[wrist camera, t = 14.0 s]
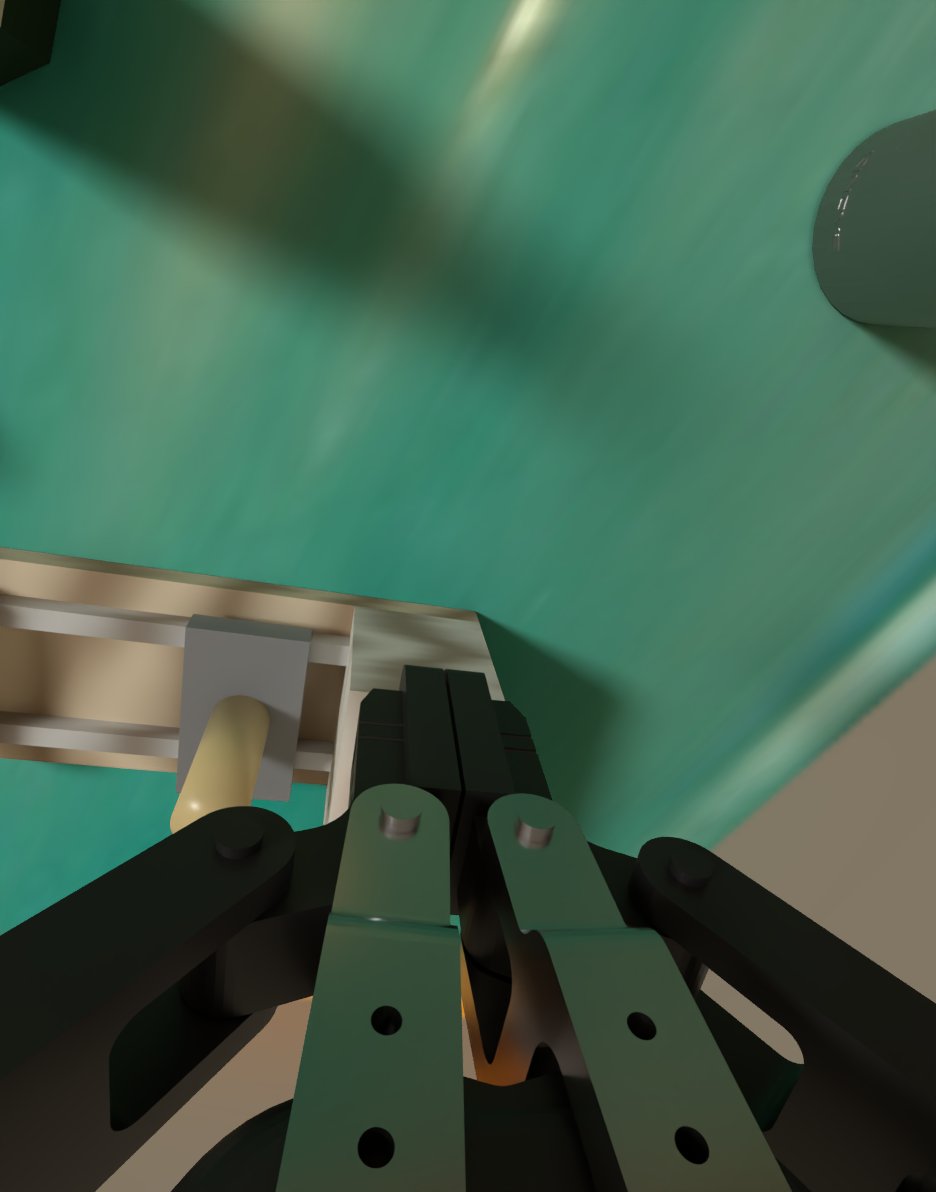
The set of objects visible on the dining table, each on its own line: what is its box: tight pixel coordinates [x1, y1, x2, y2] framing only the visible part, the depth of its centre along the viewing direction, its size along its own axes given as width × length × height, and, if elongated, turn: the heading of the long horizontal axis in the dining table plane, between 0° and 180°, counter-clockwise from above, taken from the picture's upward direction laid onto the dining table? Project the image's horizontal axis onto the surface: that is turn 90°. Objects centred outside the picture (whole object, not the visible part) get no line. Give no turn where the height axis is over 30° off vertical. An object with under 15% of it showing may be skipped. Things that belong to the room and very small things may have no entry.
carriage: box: [170, 614, 312, 834], centre depth 34 cm, size 6×10×10 cm, turn 169°
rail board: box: [0, 547, 505, 825], centre depth 36 cm, size 28×12×10 cm, turn 78°
